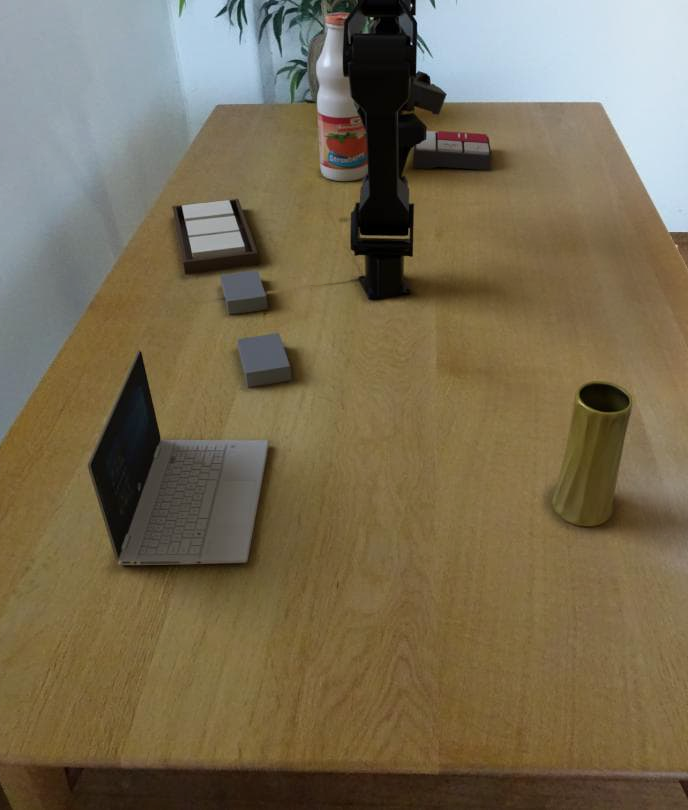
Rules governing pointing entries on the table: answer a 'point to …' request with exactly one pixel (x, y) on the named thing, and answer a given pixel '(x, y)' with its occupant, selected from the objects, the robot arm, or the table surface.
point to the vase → (593, 453)
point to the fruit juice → (338, 111)
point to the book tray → (219, 261)
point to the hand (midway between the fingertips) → (388, 169)
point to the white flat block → (217, 245)
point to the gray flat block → (264, 360)
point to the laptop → (172, 486)
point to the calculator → (453, 151)
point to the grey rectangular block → (243, 292)
